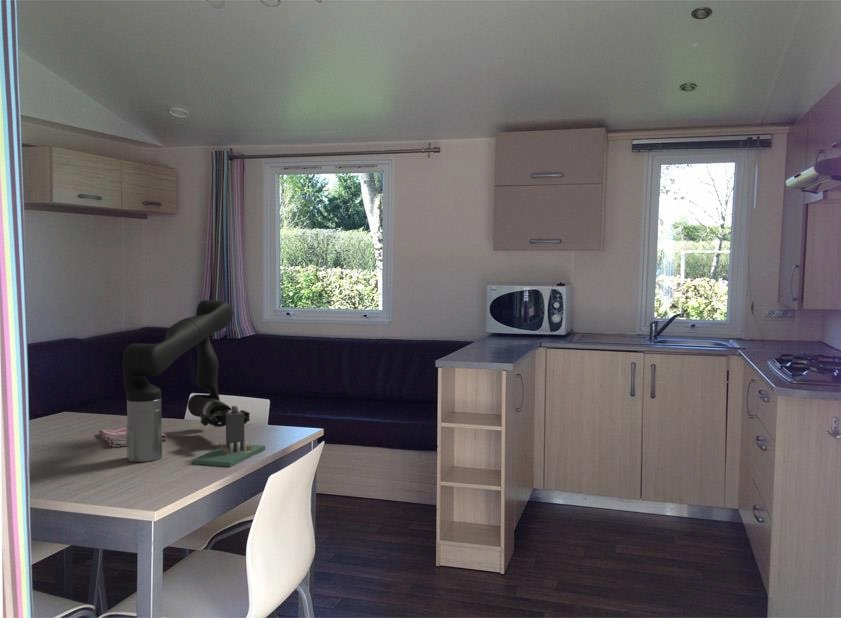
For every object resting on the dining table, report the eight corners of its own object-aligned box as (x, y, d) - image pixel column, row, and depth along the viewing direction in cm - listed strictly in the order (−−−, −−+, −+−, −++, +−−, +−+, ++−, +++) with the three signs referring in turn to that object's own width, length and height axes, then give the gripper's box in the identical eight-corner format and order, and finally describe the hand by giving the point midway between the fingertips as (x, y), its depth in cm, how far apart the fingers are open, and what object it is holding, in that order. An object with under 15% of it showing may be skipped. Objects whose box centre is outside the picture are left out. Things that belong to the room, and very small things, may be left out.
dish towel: (110, 450, 212) (110, 439, 212) (98, 435, 232) (97, 425, 232) (168, 443, 222) (168, 432, 222) (151, 429, 241) (151, 419, 241)
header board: (230, 466, 192) (230, 451, 192) (192, 463, 195) (192, 448, 195) (265, 449, 211) (265, 436, 211) (230, 447, 214) (229, 433, 214)
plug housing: (231, 452, 203) (230, 408, 202) (226, 449, 207) (225, 405, 207) (244, 450, 205) (243, 406, 204) (239, 447, 209) (238, 404, 209)
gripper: (194, 403, 221) (207, 411, 207) (238, 399, 228) (254, 407, 214) (194, 426, 221) (207, 436, 207) (239, 422, 228) (254, 431, 214)
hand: (231, 421), depth 211 cm, fingers open, 8 cm apart
